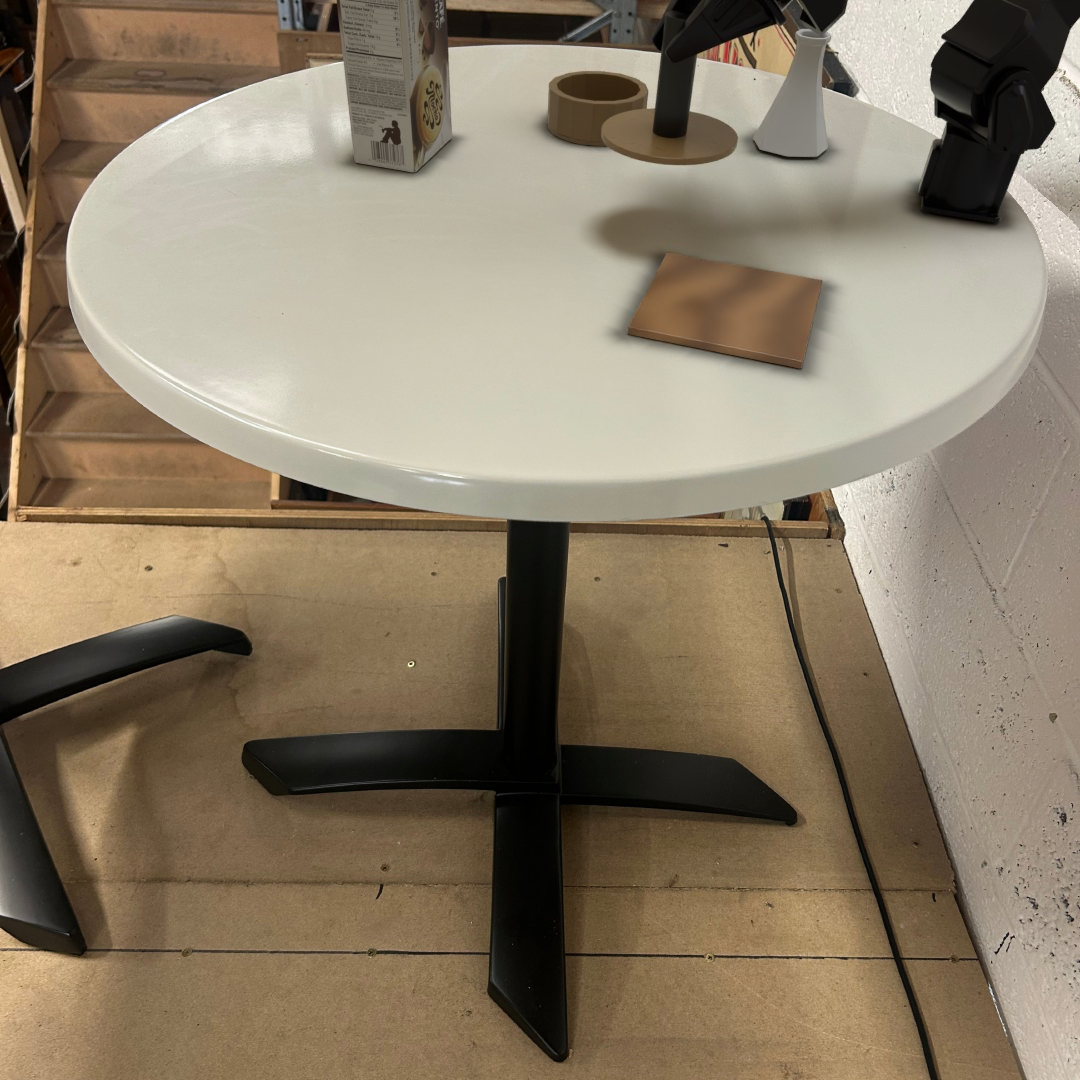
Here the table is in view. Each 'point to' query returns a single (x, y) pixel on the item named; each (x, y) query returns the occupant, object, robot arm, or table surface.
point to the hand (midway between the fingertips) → (661, 51)
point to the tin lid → (670, 117)
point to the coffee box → (396, 80)
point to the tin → (591, 103)
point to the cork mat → (729, 309)
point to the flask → (798, 104)
